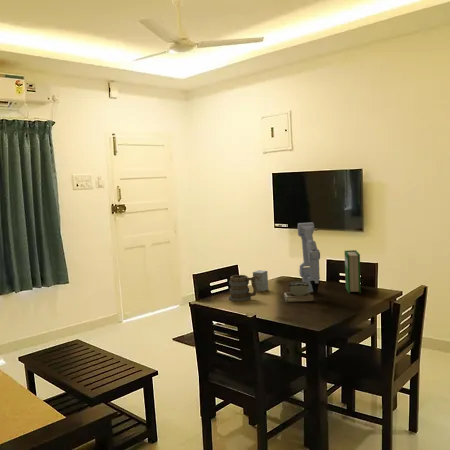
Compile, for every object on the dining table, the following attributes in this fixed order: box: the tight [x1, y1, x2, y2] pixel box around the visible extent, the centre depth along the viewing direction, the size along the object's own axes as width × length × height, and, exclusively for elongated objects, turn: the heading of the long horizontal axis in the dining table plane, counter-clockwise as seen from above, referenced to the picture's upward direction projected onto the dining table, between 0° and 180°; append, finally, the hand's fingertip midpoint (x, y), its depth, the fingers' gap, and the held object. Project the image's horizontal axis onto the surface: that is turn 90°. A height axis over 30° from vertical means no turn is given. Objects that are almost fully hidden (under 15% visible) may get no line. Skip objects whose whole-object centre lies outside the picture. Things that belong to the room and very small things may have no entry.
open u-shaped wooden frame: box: [283, 292, 314, 303], centre depth 290 cm, size 11×16×3 cm
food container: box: [288, 281, 309, 296], centre depth 291 cm, size 12×6×10 cm, turn 76°
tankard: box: [228, 274, 260, 302], centre depth 297 cm, size 20×13×15 cm, turn 65°
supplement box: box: [252, 269, 269, 292], centre depth 319 cm, size 7×7×13 cm
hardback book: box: [344, 249, 362, 294], centre depth 306 cm, size 18×7×24 cm, turn 172°
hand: (315, 292), depth 290 cm, fingers closed
